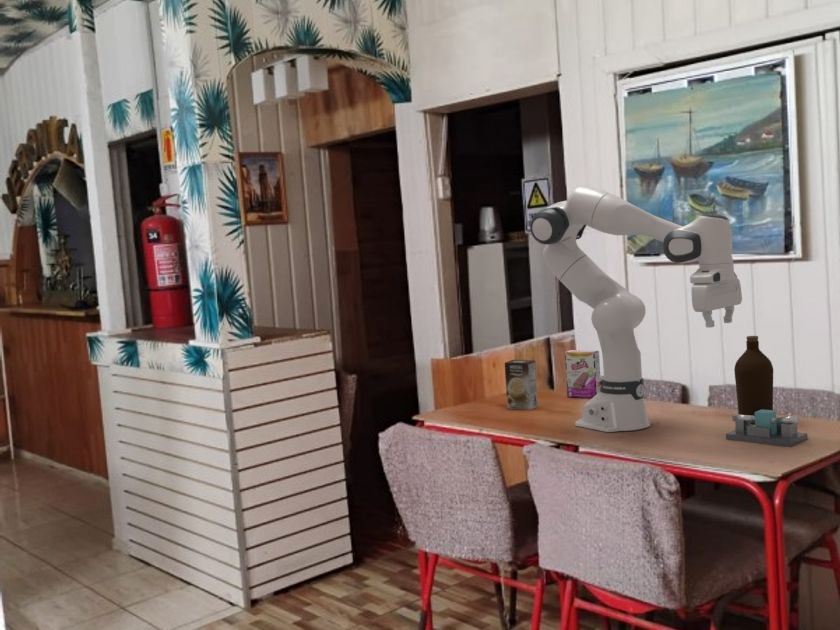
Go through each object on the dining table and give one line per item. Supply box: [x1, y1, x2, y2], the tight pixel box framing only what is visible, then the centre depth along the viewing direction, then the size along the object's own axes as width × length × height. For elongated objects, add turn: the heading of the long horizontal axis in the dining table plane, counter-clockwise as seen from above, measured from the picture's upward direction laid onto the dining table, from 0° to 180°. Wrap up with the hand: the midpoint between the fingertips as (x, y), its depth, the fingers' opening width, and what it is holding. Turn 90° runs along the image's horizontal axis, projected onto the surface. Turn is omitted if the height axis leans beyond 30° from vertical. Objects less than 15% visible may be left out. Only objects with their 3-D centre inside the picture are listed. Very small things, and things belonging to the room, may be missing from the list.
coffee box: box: [504, 359, 539, 411], centre depth 319 cm, size 9×6×16 cm
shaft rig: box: [725, 413, 808, 448], centre depth 252 cm, size 18×10×7 cm, turn 43°
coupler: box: [754, 409, 777, 435], centre depth 252 cm, size 5×4×6 cm
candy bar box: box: [564, 349, 602, 399], centre depth 330 cm, size 11×5×16 cm, turn 59°
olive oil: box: [733, 335, 774, 426], centre depth 272 cm, size 11×11×25 cm
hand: (719, 325), depth 254 cm, fingers open, 8 cm apart
